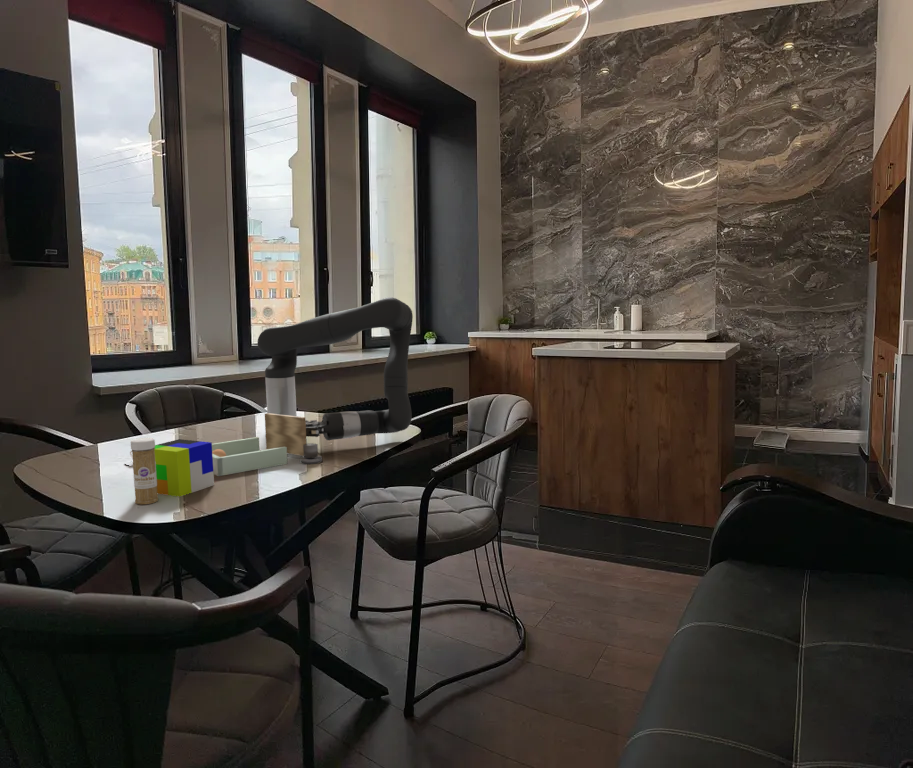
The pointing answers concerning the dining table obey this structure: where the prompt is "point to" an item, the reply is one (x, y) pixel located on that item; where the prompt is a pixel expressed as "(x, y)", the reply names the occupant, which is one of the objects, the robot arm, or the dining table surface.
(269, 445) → the tan wooden flat panel
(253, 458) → the tray
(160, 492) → the puzzle toy
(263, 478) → the dining table surface
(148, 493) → the sprinkles bottle
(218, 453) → the ball
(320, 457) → the pivot disc
